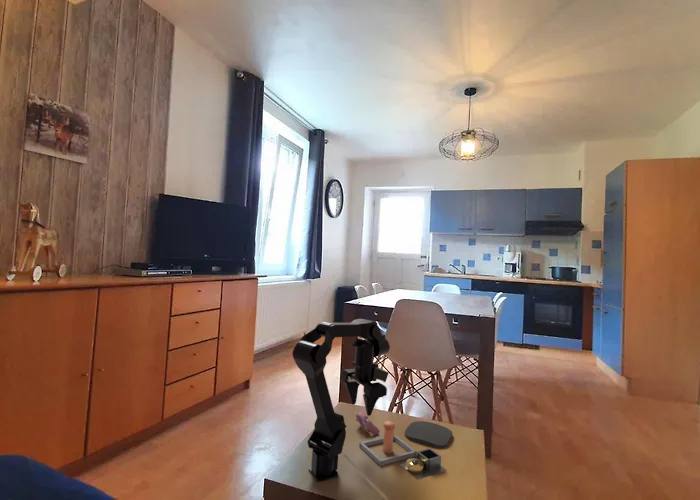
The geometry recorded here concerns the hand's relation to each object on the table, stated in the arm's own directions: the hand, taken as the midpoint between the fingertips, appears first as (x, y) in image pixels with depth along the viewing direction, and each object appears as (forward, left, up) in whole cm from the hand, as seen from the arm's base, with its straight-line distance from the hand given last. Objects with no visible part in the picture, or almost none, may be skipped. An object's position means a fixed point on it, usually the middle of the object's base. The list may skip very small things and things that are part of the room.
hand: (361, 409), depth 114 cm
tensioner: (+12, -16, -13) cm, 24 cm away
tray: (+7, -5, -13) cm, 16 cm away
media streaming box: (+27, -2, -14) cm, 30 cm away
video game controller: (+10, +11, -13) cm, 20 cm away
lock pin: (+7, -5, -12) cm, 15 cm away
